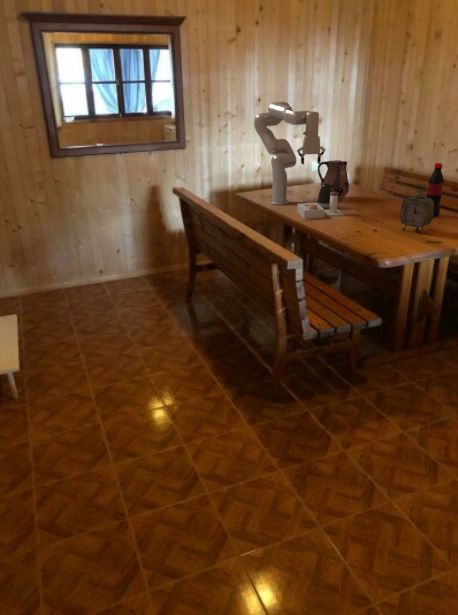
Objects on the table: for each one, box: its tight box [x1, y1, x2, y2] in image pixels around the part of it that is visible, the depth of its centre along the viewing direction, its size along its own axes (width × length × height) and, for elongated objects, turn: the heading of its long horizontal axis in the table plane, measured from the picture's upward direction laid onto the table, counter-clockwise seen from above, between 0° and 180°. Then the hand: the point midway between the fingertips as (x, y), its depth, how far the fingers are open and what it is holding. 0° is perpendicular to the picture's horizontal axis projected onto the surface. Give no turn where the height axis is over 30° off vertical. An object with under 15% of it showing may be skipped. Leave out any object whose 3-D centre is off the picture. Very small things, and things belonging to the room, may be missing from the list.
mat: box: [324, 209, 345, 217], centre depth 306 cm, size 12×10×1 cm
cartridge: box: [329, 192, 339, 213], centre depth 303 cm, size 4×4×12 cm
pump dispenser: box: [316, 183, 335, 209], centre depth 319 cm, size 10×10×15 cm
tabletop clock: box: [399, 182, 434, 235], centre depth 262 cm, size 14×9×25 cm, turn 45°
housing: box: [297, 202, 326, 220], centre depth 304 cm, size 18×12×5 cm, turn 6°
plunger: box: [309, 205, 317, 209], centre depth 299 cm, size 5×5×6 cm
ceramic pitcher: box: [317, 159, 350, 201], centre depth 337 cm, size 18×21×25 cm
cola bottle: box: [426, 162, 445, 218], centre depth 289 cm, size 8×8×30 cm
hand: (310, 163), depth 305 cm, fingers open, 9 cm apart
